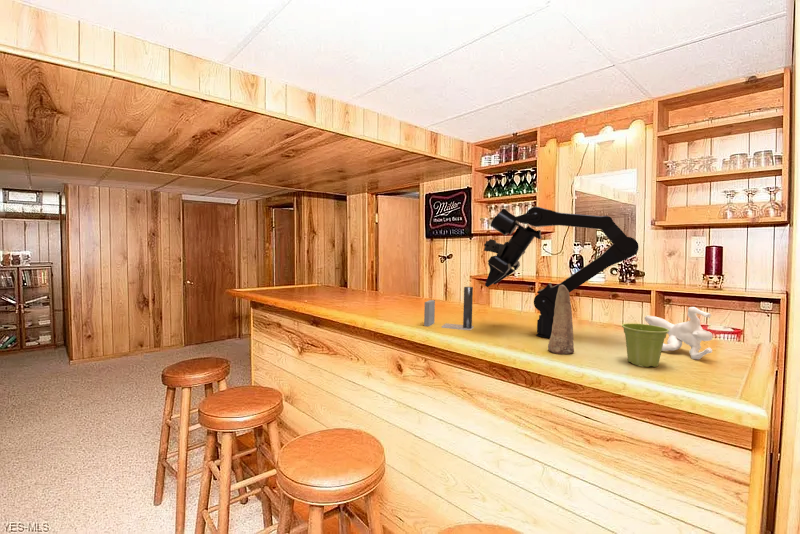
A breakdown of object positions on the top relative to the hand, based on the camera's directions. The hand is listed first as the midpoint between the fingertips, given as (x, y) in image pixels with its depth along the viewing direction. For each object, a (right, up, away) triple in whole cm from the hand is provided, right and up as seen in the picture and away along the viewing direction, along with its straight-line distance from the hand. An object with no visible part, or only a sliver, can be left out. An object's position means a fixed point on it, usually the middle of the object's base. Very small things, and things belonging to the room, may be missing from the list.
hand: (490, 284), depth 127 cm
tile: (-19, -14, +7) cm, 25 cm away
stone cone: (+13, -16, -24) cm, 32 cm away
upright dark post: (-10, -14, +3) cm, 18 cm away
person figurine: (+44, -17, -23) cm, 52 cm away
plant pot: (+28, -17, -34) cm, 47 cm away
